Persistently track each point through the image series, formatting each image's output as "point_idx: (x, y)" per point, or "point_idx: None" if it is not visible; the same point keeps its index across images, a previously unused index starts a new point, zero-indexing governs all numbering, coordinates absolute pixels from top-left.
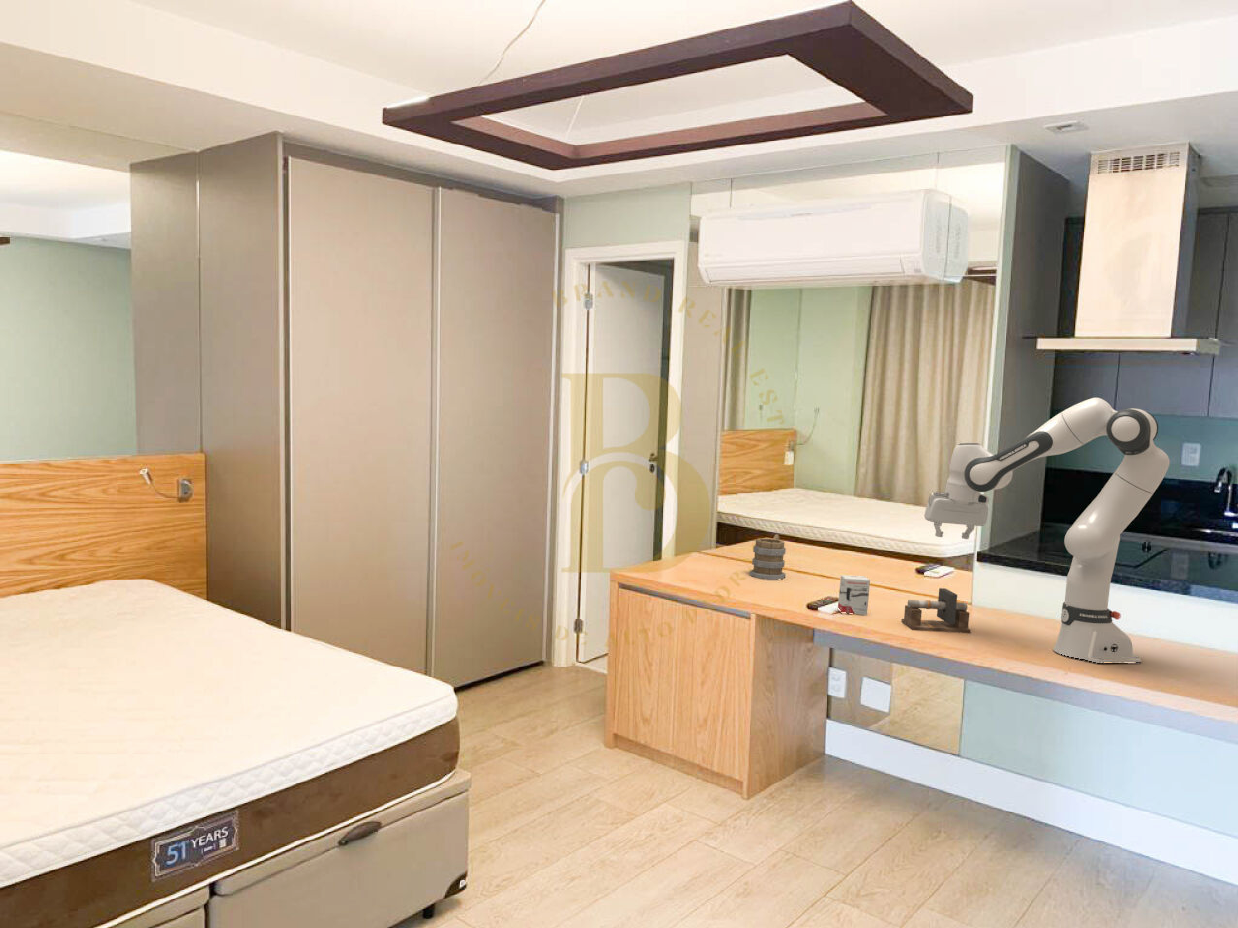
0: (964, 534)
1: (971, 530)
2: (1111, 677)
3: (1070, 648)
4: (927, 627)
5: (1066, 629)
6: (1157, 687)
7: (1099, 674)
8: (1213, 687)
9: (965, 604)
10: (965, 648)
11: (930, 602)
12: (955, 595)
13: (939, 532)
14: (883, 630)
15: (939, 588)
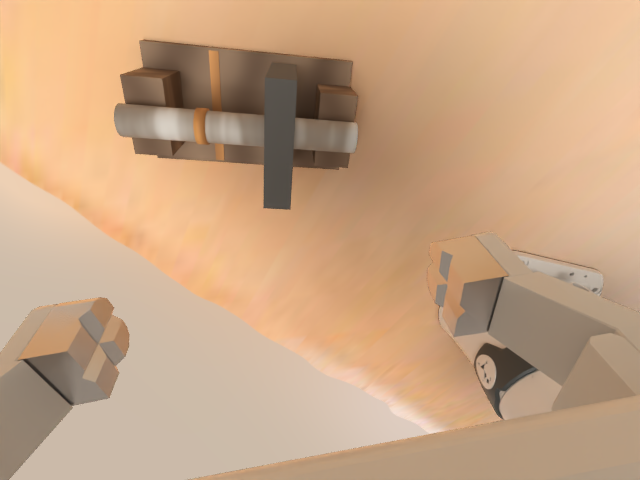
0: (450, 308)
1: (557, 371)
2: (424, 395)
3: (451, 336)
4: (205, 158)
5: (469, 352)
6: (455, 417)
7: (417, 387)
8: None
9: (348, 150)
10: (249, 294)
11: (206, 142)
12: (282, 207)
13: (56, 395)
14: (62, 168)
15: (265, 78)
